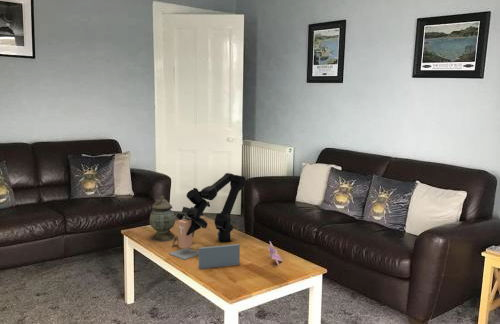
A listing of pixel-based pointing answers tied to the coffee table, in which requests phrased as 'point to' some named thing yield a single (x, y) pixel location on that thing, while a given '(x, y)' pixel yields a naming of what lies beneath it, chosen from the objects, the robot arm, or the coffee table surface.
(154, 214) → the lidded urn
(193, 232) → the lion figurine
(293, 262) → the coffee table surface
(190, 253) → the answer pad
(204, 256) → the screen
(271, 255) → the lily
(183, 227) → the salmon pink tall block
